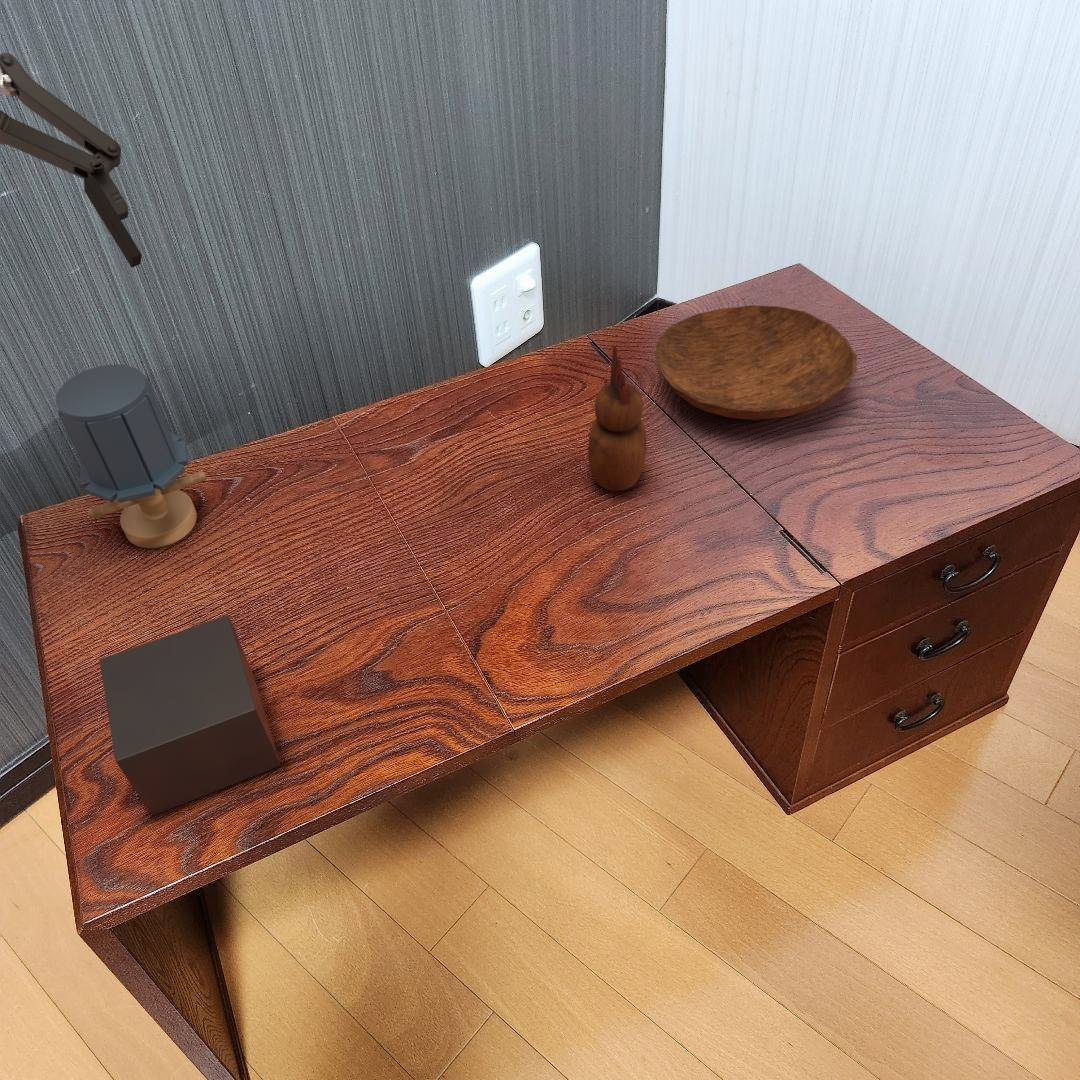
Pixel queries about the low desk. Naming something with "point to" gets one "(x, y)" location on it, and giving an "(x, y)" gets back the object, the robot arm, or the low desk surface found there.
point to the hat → (119, 433)
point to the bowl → (755, 361)
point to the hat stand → (156, 514)
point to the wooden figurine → (617, 433)
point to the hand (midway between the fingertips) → (53, 298)
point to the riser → (186, 715)
